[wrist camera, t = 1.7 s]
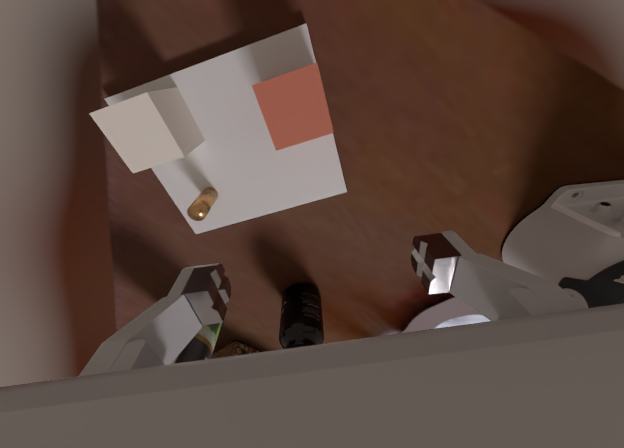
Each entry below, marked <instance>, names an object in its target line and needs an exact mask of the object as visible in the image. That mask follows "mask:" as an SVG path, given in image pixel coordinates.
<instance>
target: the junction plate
mask: <svg viewBox="0 0 624 448" xmlns="http://www.w3.org/2000/svg"><path fill="white" fill-rule="evenodd" d="M314 63H316V61H315V57H314V53H313V49H312V45H311V40H310V36H309V32H308V28H307V24H303V25H301V26H298V27H295V28H293V29H290V30H287V31H285V32H282V33H279V34H277V35H274V36H271V37H269V38H266V39H263V40H260V41H258V42H255V43H252V44H250V45H247V46H244V47H242V48H239V49H236V50H234V51H231V52H228V53H226V54H223V55H220V56H218V57H215V58H212V59H210V60H207V61H204V62H202V63H199V64H196V65H194V66H191V67H188V68H186V69H183V70H180V71H178V72H175V73H172V74H170V75H167V76H164V77H162V78H159V79H156V80H154V81H151V82H148V83H146V84H143V85H140V86H138V87H135V88H132V89H130V90H127V91H124V92H122V93H119V94H116V95H114V96H111V97H108V98H106V99H105V101H106V102H107V103H108V105H109V106H111V105H114V104H116V103H119V102H122V101H124V100H127V99H130V98H133V97H135V96H138V95H141V94H143V93H146V92H151V91H157V90H163V89H169V88H175V87H178V89H179V91H180V92H181V94H182V96H183V98H184V100H185V102H186V104H187V106H188V108H189V110H190V112H191V114H192V116H193V117H194V119H195V121H196V123H197V125H198V127H199V129H200V131H201V133H202V135H203V137H204V139H205V141H204V142H203V143H202V144H200V145H199V146H198V147H196V148H195V149H194V150H193V151H191V152H190V153H189V154H187V155H186V156H185V157H182V158H179V159H176V160H173V161H170V162H167V163H164V164H160V165H157V166H154V167H151V168H152V170H153V171H154V173H155V174H156V176H157V177H158V179H159V180H160V182H161V183H162V185H163V186H164V188H165V189H166V191H167V192H168V194H169V195H170V197H171V198H172V199H173V201H174V202H175V204H176V205H177V207H178V208H179V210H180V211H181V213H182V214H183V216H184V217H185V219H186V220H187V222H188V223H189V225H190V226H191V228H192V229H193V231H194V232H195V233H196V234H198V233H202V232H205V231H209V230H213V229H216V228H220V227H223V226H227V225H230V224H234V223H238V222H241V221H245V220H248V219H252V218H255V217H259V216H263V215H266V214H270V213H273V212H277V211H280V210H284V209H288V208H291V207H295V206H298V205H302V204H305V203H309V202H313V201H316V200H320V199H323V198H327V197H330V196H334V195H338V194H341V193H345V192H347V190H346V186H345V182H344V178H343V174H342V170H341V165H340V161H339V157H338V153H337V149H336V145H335V140H334V136H333V133H332V134H328V135H325V136H322V137H319V138H316V139H312V140H309V141H306V142H303V143H300V144H296V145H293V146H290V147H287V148H284V149H280V150H277V151H276V149H275V146H274V144H273V141H272V138H271V136H270V133H269V130H268V128H267V125H266V122H265V120H264V117H263V114H262V112H261V109H260V106H259V104H258V101H257V98H256V96H255V93H254V90H253V88H252V85H254V84H257V83H260V82H262V81H265V80H268V79H271V78H274V77H277V76H280V75H282V74H285V73H288V72H291V71H294V70H297V69H299V68H302V67H305V66H308V65H311V64H314ZM206 187H212V188H214V189H215V190H216V191H217V192H218V198H217V200H216V201H215V203H214V204H213V206H212V208H211V209H210V211H209V212H208V214H207V215H206V217H205V219H204V220H202V221H195V220H192V219H191V218H190V217H189V216H188V214H187V209H188V208H189V207H190V205H191V204H192V203H193V202H194V200H195V199H196V198H197V197H198V195H199V194H200V193H201V192H202V190H203V189H204V188H206Z"/></svg>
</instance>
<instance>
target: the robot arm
mask: <svg viewBox="0 0 624 448" xmlns="http://www.w3.org/2000/svg"><path fill="white" fill-rule="evenodd" d="M413 246H414V247H415V249H414V250H413V252H412V253H411V262H412V266H413V269H414V271H415V273H416V274H417V275H418V276H420V277H422V279H421V283H422V284H423V286H424V288H425V289H426V291H427V293H428V294H437V293H446V292H450V293H451V294H452V295H454V296H455V297H457V298H458V299H460V300H461V301H463V302H464V303H466V304H467V305H469V306H470V307H472V308H473V309H475V310H476V311H477V312H479V313H480V314H482V315H483V316H485V317H486V318H488V319H489V320H491V321H489V322H482V323H474V324H467V325H460V326H452V327H445V328H437V329H430V330H422V331H415V332H407V333H400V334H392V335H385V336H377V337H370V338H362V339H355V340H347V341H340V342H333V343H325V344H318V345H310V346H303V347H295V348H288V349H280V350H273V351H265V352H258V353H250V354H243V355H236V356H228V357H221V358H213V359H206V360H198V361H191V362H183V363H176V364H171V363H172V362H173V361H174V360H175V359H176V357H177V356H178V355H179V354H180V353H181V351H182V350H183V349H184V348H185V347H186V346H187V344H188V343H189V342H190V341H191V340H192V339H193V337H194V336H195V335H196V334H197V333H198V331H199V330H200V329H201V328H202V326H204V325H210V324H216V323H222V322H223V321H224V317H225V314H226V310H227V308H226V305H225V304H226V303H227V302H228V301H229V300H230V296H231V285H230V281H229V279H228V278H227V277H226V276H224V272H225V269H224V267H223V265H222V264H220V263H218V264H210V265H201V266H194V267H186V268H184V269H182V271H181V273H180V274H179V276H178V278H177V280H176V281H175V283H174V285H173V287H172V288H171V290H170V292H169V294H168V295H167V297H163V298H161V299H160V300H159V301H158V302H156V303H155V304H154V305H152V306H151V307H150V308H148V309H147V310H146V311H144V312H143V313H142V314H140V315H139V316H138V317H136V318H135V319H134V320H132V321H131V322H130V323H128V324H127V325H126V326H124V327H123V328H122V329H120V330H119V331H118V332H116V333H115V334H114V335H112V336H111V337H110V338H108V339H107V340H106V341H104V342H103V343H102V344H101V346H100V347H99V348H98V350H97V351H96V353H95V354H94V355H93V357H92V358H91V360H90V361H89V362H88V364H87V365H86V367H85V368H84V369H83V371H82V372H81V374H80V375H79V377H72V378H64V379H57V380H50V381H43V382H34V383H28V384H20V385H12V386H5V387H0V448H624V180H617V181H607V182H597V183H587V184H577V185H567V186H563V187H561V188H559V189H558V190H556V191H555V192H554V193H553V194H552V195H551V196H550V197H549V199H548V200H547V201H546V202H545V203H544V204H543V205H542V206H541V207H540V208H538V209H537V210H536V211H534V212H533V213H531V214H530V215H528V216H527V217H526V218H524V219H523V220H522V221H521V222H520V223H519V224H518V225H517V226H516V227H515V228H514V229H513V230H512V231H511V233H510V234H509V236H508V237H507V239H506V241H505V243H504V245H503V249H502V259H503V262H504V263H503V262H501V261H498V260H496V259H493V258H491V257H488V256H485V255H483V254H476V253H475V252H474V251H473V250H472V249H471V248H470V247H469V246H468V245H467V244H466V243H465V242H464V241H463V240H462V239H461V238H460V237H459V236H458V235H457V234H456V233H455V232H454V231H445V232H439V233H435V234H428V235H421V236H415V237H414V239H413Z"/></svg>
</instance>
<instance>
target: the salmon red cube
mask: <svg viewBox="0 0 624 448" xmlns="http://www.w3.org/2000/svg"><path fill="white" fill-rule="evenodd" d="M252 88H253V90H254V93H255V96H256V98H257V101H258V104H259V106H260V109H261V112H262V114H263V117H264V120H265V122H266V125H267V128H268V130H269V133H270V136H271V138H272V141H273V144H274V146H275V149H276V151H277V150H280V149H284V148H287V147H290V146H293V145H296V144H300V143H303V142H306V141H309V140H312V139H316V138H319V137H322V136H325V135H328V134H332V133H334V132H333V127H332V123H331V119H330V115H329V111H328V106H327V102H326V98H325V94H324V89H323V85H322V81H321V77H320V73H319V68H318V64H317V63H314V64H311V65H308V66H305V67H302V68H299V69H297V70H294V71H291V72H288V73H285V74H282V75H280V76H277V77H274V78H271V79H268V80H265V81H262V82H260V83H257V84H254V85H252Z"/></svg>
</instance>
